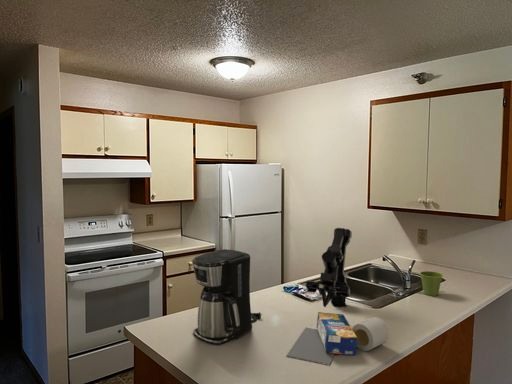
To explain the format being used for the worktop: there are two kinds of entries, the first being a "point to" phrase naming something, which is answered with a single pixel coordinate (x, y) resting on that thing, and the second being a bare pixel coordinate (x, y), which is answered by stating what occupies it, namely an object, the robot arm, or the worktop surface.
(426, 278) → the plant pot
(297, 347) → the mat
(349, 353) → the beverage box
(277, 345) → the worktop surface
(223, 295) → the coffee maker
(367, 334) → the toilet paper
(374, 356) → the worktop surface
